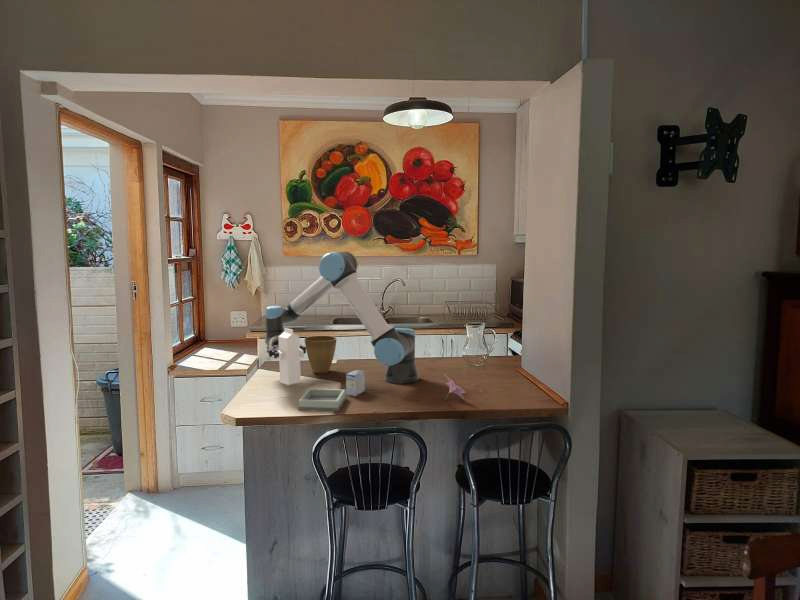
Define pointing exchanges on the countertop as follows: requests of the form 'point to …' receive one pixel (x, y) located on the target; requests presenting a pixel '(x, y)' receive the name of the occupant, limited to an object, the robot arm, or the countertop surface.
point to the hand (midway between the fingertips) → (292, 355)
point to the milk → (289, 357)
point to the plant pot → (320, 352)
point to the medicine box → (355, 382)
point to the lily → (454, 387)
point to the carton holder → (322, 399)
